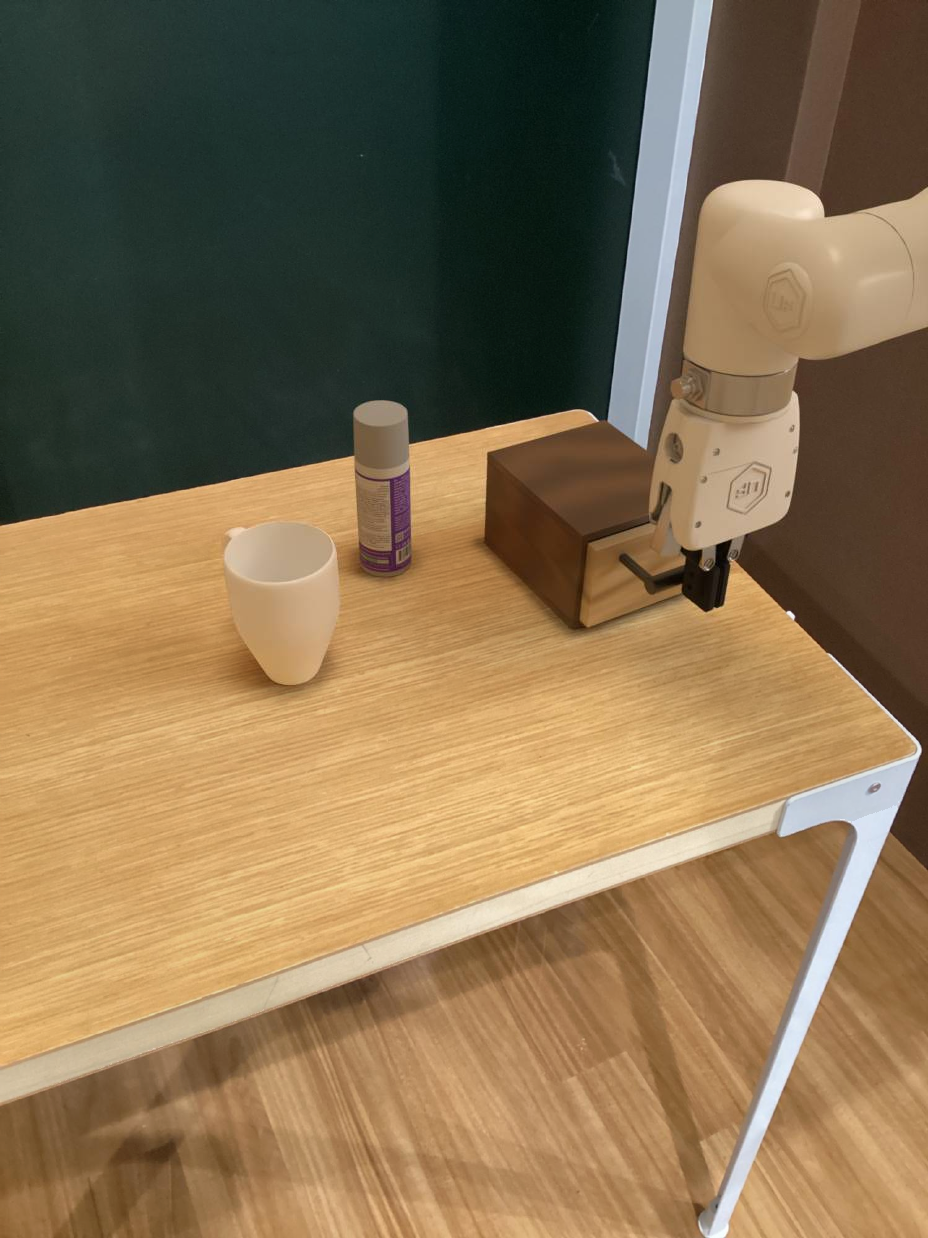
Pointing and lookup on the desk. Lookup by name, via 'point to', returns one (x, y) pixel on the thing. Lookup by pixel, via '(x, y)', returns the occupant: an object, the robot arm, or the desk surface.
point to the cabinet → (563, 506)
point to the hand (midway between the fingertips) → (701, 600)
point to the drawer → (627, 575)
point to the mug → (283, 595)
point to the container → (382, 487)
